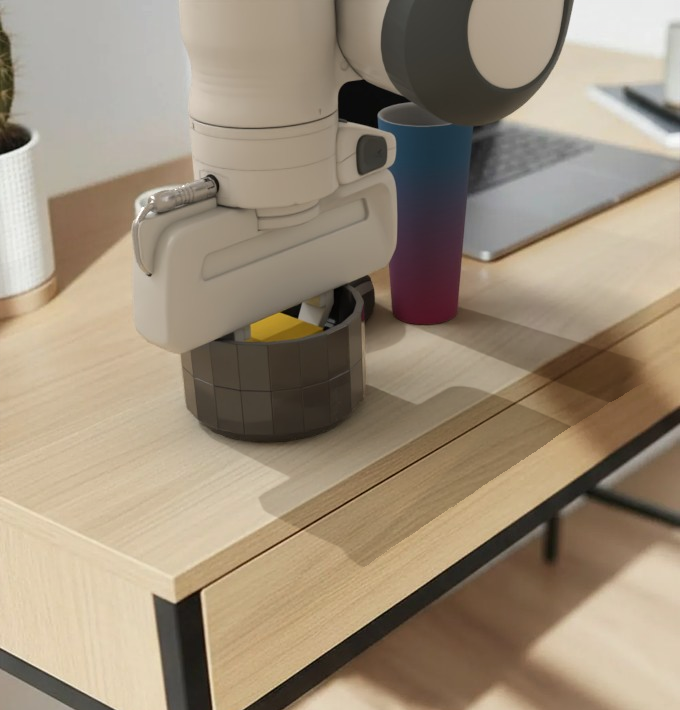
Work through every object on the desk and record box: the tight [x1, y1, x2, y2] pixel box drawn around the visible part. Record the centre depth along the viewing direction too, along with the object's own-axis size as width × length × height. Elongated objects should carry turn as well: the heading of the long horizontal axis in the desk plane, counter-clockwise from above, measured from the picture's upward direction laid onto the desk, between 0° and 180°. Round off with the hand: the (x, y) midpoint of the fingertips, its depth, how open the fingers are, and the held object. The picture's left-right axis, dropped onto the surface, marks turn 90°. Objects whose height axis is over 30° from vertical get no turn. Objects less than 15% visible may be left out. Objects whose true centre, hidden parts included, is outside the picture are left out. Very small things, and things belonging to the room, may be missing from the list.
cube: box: [244, 312, 323, 342], centre depth 79 cm, size 5×4×4 cm
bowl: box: [179, 284, 367, 443], centre depth 79 cm, size 12×12×7 cm
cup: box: [377, 101, 474, 325], centre depth 89 cm, size 7×7×15 cm
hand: (278, 368), depth 80 cm, fingers closed on cube, 4 cm apart
